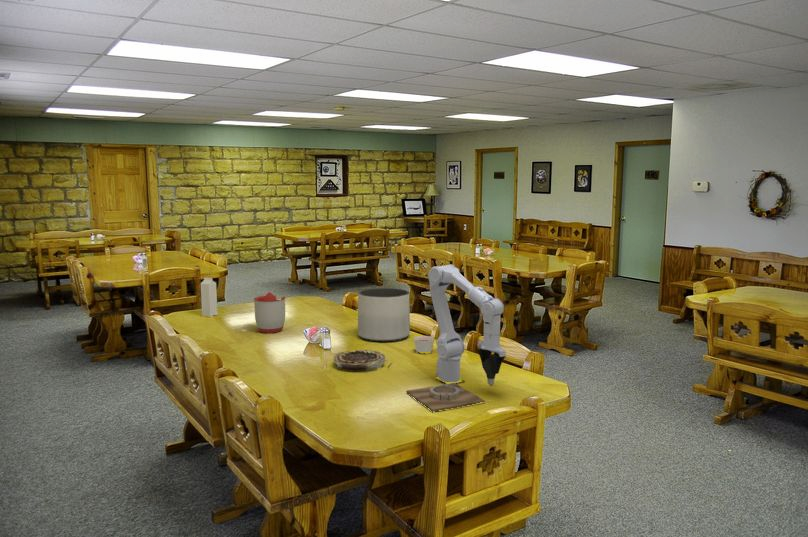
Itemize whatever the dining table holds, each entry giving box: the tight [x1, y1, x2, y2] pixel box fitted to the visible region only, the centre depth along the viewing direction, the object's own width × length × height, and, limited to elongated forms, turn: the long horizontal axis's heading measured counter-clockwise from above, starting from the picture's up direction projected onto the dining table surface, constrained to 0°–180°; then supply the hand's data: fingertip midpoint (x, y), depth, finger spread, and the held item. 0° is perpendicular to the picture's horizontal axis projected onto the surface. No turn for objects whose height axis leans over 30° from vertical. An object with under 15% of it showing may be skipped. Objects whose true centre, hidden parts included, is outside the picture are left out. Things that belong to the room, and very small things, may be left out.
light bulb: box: [482, 358, 497, 387], centre depth 210 cm, size 6×6×10 cm
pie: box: [333, 349, 389, 372], centre depth 244 cm, size 28×27×5 cm
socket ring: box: [430, 384, 459, 401], centre depth 206 cm, size 10×10×2 cm
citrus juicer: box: [253, 291, 286, 334], centre depth 301 cm, size 16×17×20 cm
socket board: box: [405, 383, 486, 412], centre depth 207 cm, size 20×20×1 cm
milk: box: [200, 276, 218, 316], centre depth 333 cm, size 6×6×22 cm
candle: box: [413, 335, 435, 353], centre depth 263 cm, size 9×9×6 cm
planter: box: [357, 287, 411, 342], centre depth 289 cm, size 25×25×22 cm
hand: (490, 371), depth 210 cm, fingers closed on light bulb, 6 cm apart
